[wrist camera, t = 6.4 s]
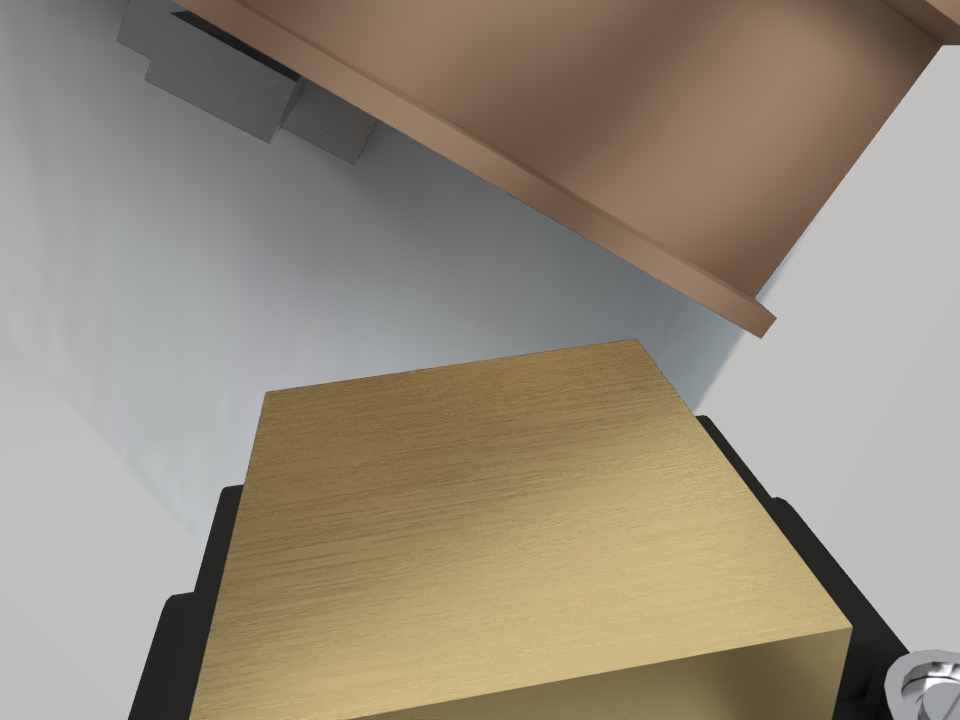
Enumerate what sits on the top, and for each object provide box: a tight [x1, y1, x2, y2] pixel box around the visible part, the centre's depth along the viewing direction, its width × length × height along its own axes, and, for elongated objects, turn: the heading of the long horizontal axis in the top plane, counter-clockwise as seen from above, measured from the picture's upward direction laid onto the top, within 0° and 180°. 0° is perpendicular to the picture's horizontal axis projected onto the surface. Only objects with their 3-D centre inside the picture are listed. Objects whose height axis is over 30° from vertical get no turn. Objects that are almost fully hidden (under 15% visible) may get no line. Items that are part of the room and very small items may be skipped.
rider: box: [189, 339, 853, 720], centre depth 9 cm, size 5×5×5 cm
